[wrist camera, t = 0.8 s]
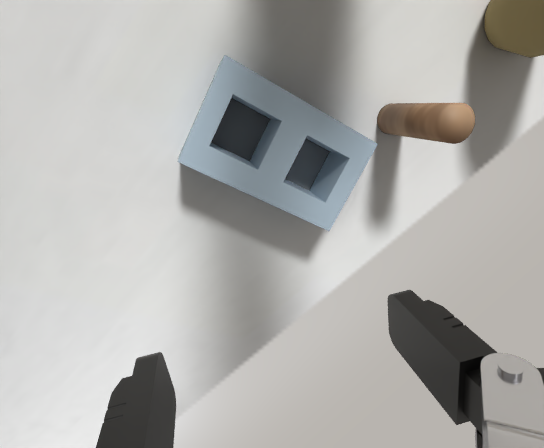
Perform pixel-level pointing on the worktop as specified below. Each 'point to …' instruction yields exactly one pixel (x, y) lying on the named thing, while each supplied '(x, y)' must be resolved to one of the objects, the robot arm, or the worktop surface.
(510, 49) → the squeeze bottle
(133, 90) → the worktop surface
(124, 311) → the worktop surface
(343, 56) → the worktop surface
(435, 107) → the dowel
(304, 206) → the socket block
